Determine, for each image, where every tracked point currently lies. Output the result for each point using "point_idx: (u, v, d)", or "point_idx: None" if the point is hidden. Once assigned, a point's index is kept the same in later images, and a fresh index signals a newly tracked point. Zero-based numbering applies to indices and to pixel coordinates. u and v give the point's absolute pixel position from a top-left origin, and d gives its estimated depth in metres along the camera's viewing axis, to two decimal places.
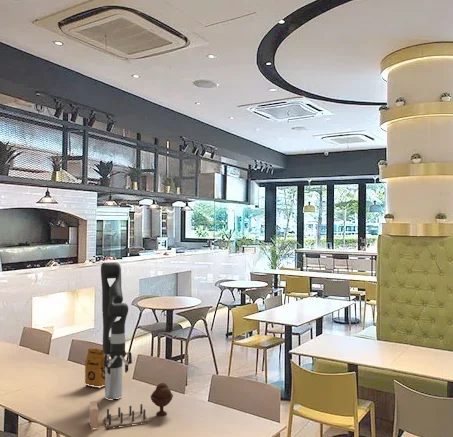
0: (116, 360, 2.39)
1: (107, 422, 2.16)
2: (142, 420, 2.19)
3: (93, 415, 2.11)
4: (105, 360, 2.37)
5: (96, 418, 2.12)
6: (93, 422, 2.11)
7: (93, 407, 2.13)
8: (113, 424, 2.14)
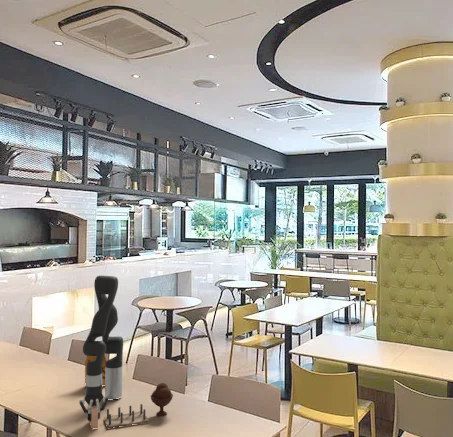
0: (94, 403, 2.15)
1: (107, 422, 2.16)
2: (142, 420, 2.19)
3: (93, 415, 2.11)
4: (83, 407, 2.13)
5: (96, 418, 2.12)
6: (93, 422, 2.11)
7: (93, 407, 2.13)
8: (113, 424, 2.14)
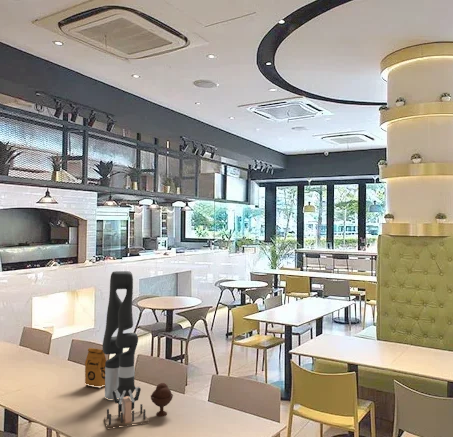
0: (126, 394, 2.20)
1: (107, 422, 2.16)
2: (142, 420, 2.19)
3: (127, 408, 2.16)
4: (114, 397, 2.18)
5: (130, 411, 2.16)
6: (127, 415, 2.16)
7: (126, 401, 2.18)
8: (113, 424, 2.14)
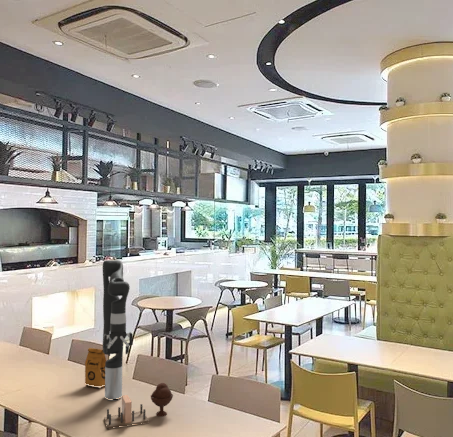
0: (116, 341, 2.27)
1: (107, 422, 2.16)
2: (142, 420, 2.19)
3: (127, 408, 2.16)
4: (105, 341, 2.24)
5: (130, 411, 2.16)
6: (127, 415, 2.16)
7: (126, 401, 2.18)
8: (113, 424, 2.14)
